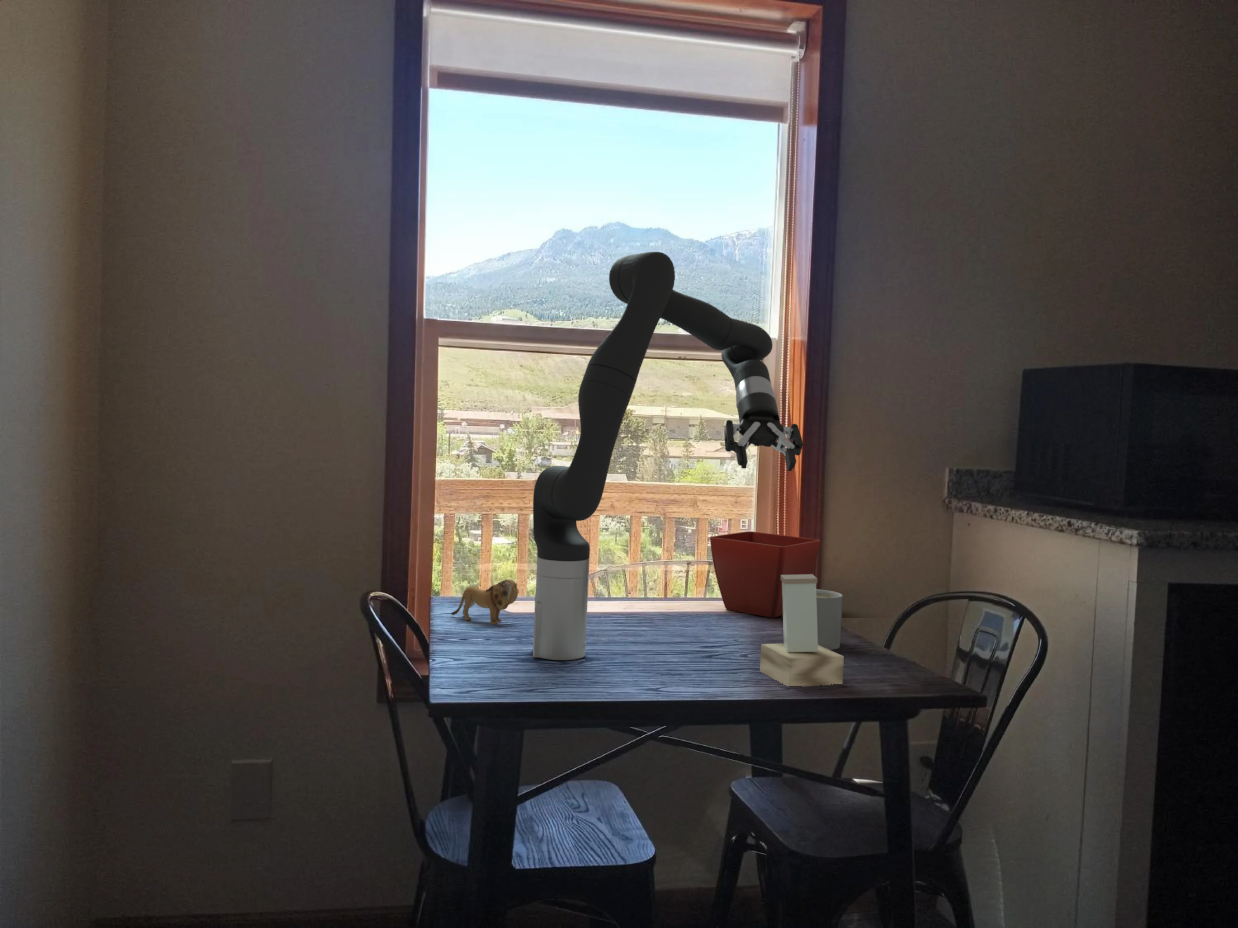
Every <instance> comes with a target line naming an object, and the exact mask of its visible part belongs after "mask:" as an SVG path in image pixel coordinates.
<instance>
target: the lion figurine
mask: <svg viewBox="0 0 1238 928" xmlns="http://www.w3.org/2000/svg"><path fill="white" fill-rule="evenodd" d="M517 585H518V583H517V582H516V581H514V579H504V580H502V581H500V582H497V584H493V585H491V586H489V588H487V589H482V588H479V587H477V586H468V587H466V588H465V589H464V591H463V593H462V596H461V600H460V603H459V605H458V608H457V609H456V610H454V611H452V612H451V615H452V616H454V615H457V614H459V612H460V610H461V609H462V607H463V610H462V616H463V615H464V616H463V617H464V620H465V621H467V620H470V621H472V617H470V613H469V610H470V608H472V607H473V606H474V605H475V604H476V605H477V606H478V607H479V608H481V609H489V616H490V625H492V624H496V625H498V623H502V619H501V618H499V616H500V612H501V611H502V610H506V609H507V608H508V606H510V605H512V604H513V603H515V602H516V600H517V598H518V595H519V591H520V590H519V588H518V586H517ZM463 604H464V605H463Z"/></svg>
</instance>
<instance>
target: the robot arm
mask: <svg viewBox="0 0 1238 928" xmlns="http://www.w3.org/2000/svg"><path fill="white" fill-rule="evenodd" d="M675 271H676V270H675V266H674V263H673V261H672V259H671V257H670V256H669V255H668V254H666V253H664V252H662V251H661V252H660V251H646V252H641V253H634V254H629V255H625V256H622V257H621V258H618V259H617V260H616V261H615V262H614V263H613V265H611V268H610V270H609V274H608V280H609V281H608V282H609V287H610V290H611V291H612V294H614V296H615V297H616V299H618V300H619V301H620V302H622V303H624V304H626V307H625V310H624V312H623V313H622V316H621V318H620V319H619V321H618V322H617V324H616V325H615V326H614V328H612V330H611V331H610V332H609V333H608V334H607V336H605V338H604V339H602V342H600V344H599V345H598V346H597V348H596V350H595V351H594V352H593V354H592V355H591V357H590V359H589V360H588V363H587V367H586V369H585V372H584V374H583V378H582V380H581V383H580V385H579V390H578V398H577V399H578V400H577V403H578V404H577V405H578V413H579V414H578V415H579V420H580V421H579V422H580V431H579V432H580V435H579V439H578V443H577V446H576V450H575V453H574V456H573V458H572V461H571V463H570V465H569V466H566V465H552V466H547V468H545V469H543V470H542V471H541V472H540V474H539V475H538V477H537V479H536V481H535V484H534V488H533V500H532V519H533V521H532V530H533V531H532V533H533V535H532V536H533V539H534V543H535V545H536V556H537V557H536V574H535V575H536V577H535V580H536V581H535V597H534V616H533V617H534V618H533V636H532V638H533V639H532V641H533V642H532V657H533V658H540V659H546V660H551V661H552V660H553V661H573V660H578V659H579V660H580V659H582V658H584V657H585V656H586V647H587V626H588V625H587V622H588V621H587V620H588V599H589V598H588V597H589V578H590V577H589V576H590V575H589V574H590V555H591V554H590V553H591V546H590V544H589V542H588V540H587V539H586V538H584V536H582V534H581V533H580V531H579V528H578V526H577V525H578V523H577V522H580V521H582V522H583V521H585V520H587V519H589V518H591V517H592V516H593V515H594V513H595V512H596V511H597V509H598V507H599V505H600V503H601V501H602V498H603V495H604V489H605V486H606V481H607V477H608V472H609V468H610V464H611V460H612V455H613V452H614V448H615V447H616V446H615V445H616V442H617V439H618V437H619V436H618V435H619V433H620V431H621V430H620V429H621V425H622V423H623V420H624V417H625V414H626V411H627V409H628V407H629V403H630V400H631V398H632V396H633V393H634V390H635V387H636V383H637V380H638V376H639V373H640V370H641V367H642V365H643V362H644V359H645V357H646V353H647V351H648V349H649V345H650V343H651V340H652V338H653V335H654V332H655V330H656V328H657V325H658V323H659V321H660V319H661V320H664V321H666V322H668V323H670V324H672V325H674V326H676V327H678V328H679V329H681V330H682V331H685V332H686V333H688V334H689V335H691V336H693V337H695V339H698V340H699V341H700V342H702V343H703V344H705V345H707V346H708V347H710V348H711V349H713V350H716V351H721V353H720V354H721V360H722V362H723V364H724V365H725V366H726V368H727V370H728V371H729V373H730V375H731V377H732V379H733V381H734V382H733V383H734V388H735V402H736V403H735V405H736V409H737V414H738V421H739V424H737V423H734V422H733V421H732V420H730V419H728V420H726V423H725V425H724V429H723V433H724V451H726V452H729V453H730V452H733V453H735V455H736V462H737V464H738V466H740V468H741V469H743V470H744V469H746V468H747V466H748V455H747V454H748V453H747V450H748V448H749V447H750V446H751V445H753V447H766V448H767V447H768V448H769V447H770V448H771V447H772V448H773V449H774V450H775V451H777V452H780V453H781V454H783V455H784V461H785V465H786V470H787V472H792V471H793V469H795V466H796V464H797V459H796V458H797V457H796V456H801V453H802V449H803V448H804V442H803V439H802V438H803V437H802V434H801V431H800V428H799V425H798V423H797V424H796V423H792V424H791V426H783V424H782V423H781V419H780V415H779V410H778V405H777V399H776V394H775V391H774V389H773V386H772V382H771V378H770V371H769V369H768V366H767V365H766V364H765V363H764V362H763V361H762V360H764V359H765V358H766V357H768V356H769V355H770V353H772V349H773V341H772V338H771V336H770V334H769V333H768V332H767V331H766V330H765V329H763V328H762V327H761V326H759V325H758V324H754V323H751V322H749V321H748V322H747V321H744V320H740V319H736V318H734V317H731V316H729V315H727V314H726V313H725V312H723V311H722V310H721V309H719V308H717V307H716V306H714V305H712V304H711V303H709V302H706V301H704V300H701V299H698V298H696V297H693V296H690V295H688V294H685V293H682V292H679V291H678V290H674V286H675V283H676V282H675V281H676V272H675ZM737 432H738V433H739V435H741V436H742V437H741V438H740V439H739V440H738V441H735V435H736V433H737Z"/></svg>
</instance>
